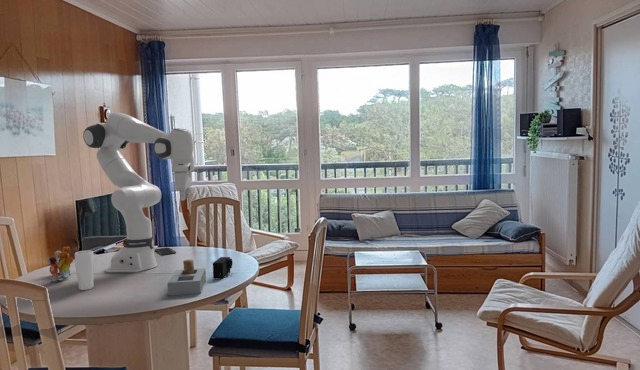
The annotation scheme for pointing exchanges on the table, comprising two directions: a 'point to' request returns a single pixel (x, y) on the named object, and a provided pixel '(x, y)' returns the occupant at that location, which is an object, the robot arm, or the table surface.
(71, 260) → the doll family
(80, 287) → the drinking glass
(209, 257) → the table surface
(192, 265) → the walnut dowel
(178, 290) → the socket block
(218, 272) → the digital camera
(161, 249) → the phone
